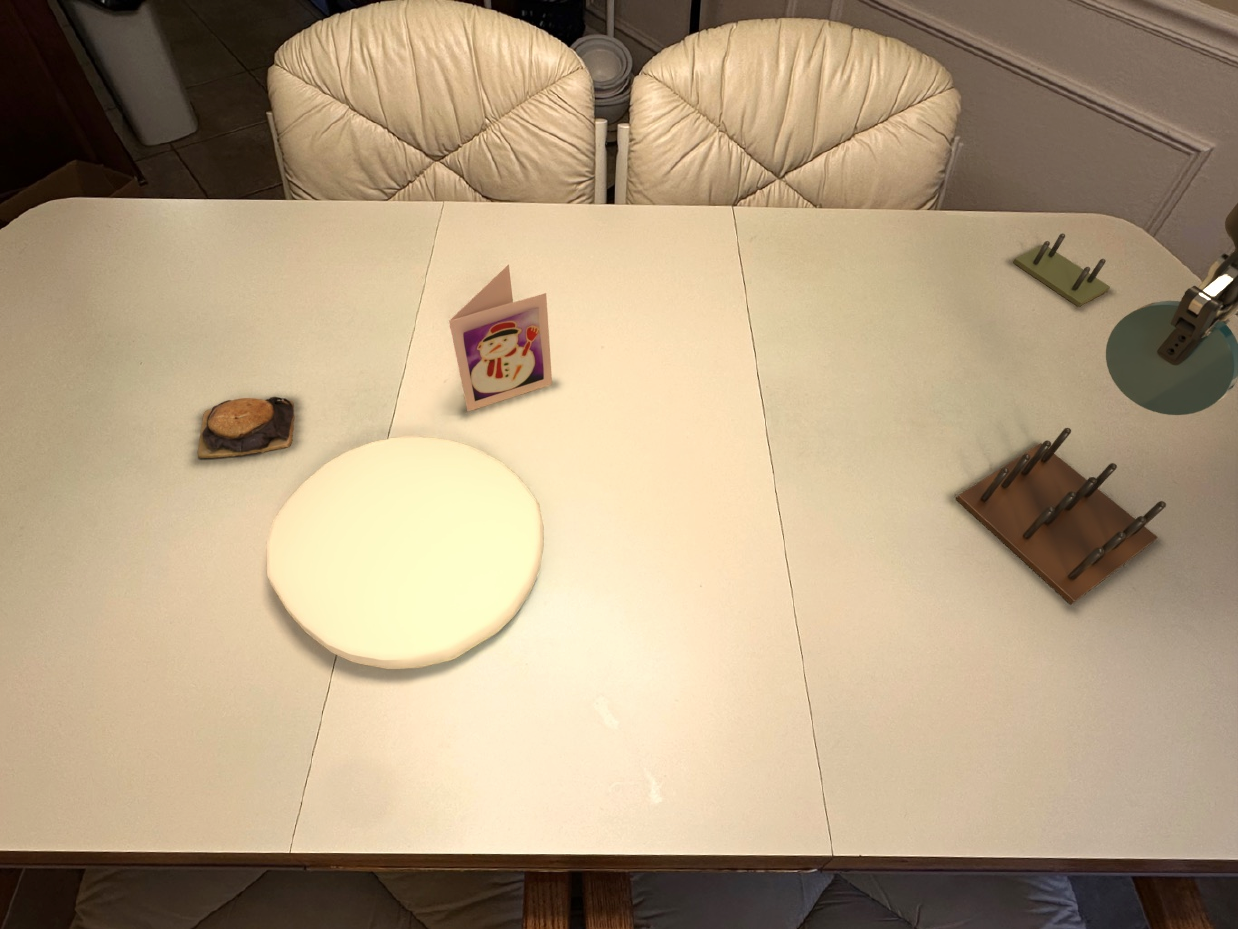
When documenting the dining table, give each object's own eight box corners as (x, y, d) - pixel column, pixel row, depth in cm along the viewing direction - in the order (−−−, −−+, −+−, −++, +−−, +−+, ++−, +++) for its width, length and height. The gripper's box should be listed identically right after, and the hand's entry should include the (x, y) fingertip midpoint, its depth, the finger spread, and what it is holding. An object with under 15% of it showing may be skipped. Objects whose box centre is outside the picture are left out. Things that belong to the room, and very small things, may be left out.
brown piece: (197, 463, 87) (183, 444, 84) (207, 410, 92) (194, 390, 89) (292, 451, 89) (281, 431, 86) (296, 399, 93) (286, 378, 90)
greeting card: (469, 416, 93) (451, 325, 81) (451, 376, 96) (431, 285, 85) (554, 388, 96) (549, 297, 84) (533, 351, 100) (525, 259, 88)
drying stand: (1041, 248, 117) (1056, 221, 113) (1107, 291, 111) (1126, 264, 107) (1012, 262, 114) (1026, 236, 111) (1078, 307, 108) (1096, 280, 105)
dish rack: (1038, 446, 92) (1065, 410, 87) (1153, 540, 84) (1192, 507, 79) (955, 499, 87) (979, 464, 82) (1070, 604, 79) (1105, 573, 74)
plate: (580, 473, 82) (476, 699, 66) (576, 504, 87) (478, 720, 72) (350, 390, 84) (198, 590, 69) (359, 425, 89) (220, 618, 74)
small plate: (1091, 362, 77) (1155, 277, 68) (1189, 432, 72) (1272, 349, 63) (1084, 366, 77) (1148, 281, 68) (1181, 437, 71) (1264, 354, 63)
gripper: (1322, 242, 51) (1167, 409, 65) (1415, 187, 56) (1252, 353, 70) (1220, 189, 55) (1094, 357, 69) (1315, 141, 60) (1179, 307, 74)
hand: (1174, 354), depth 69 cm, fingers closed on small plate, 1 cm apart
